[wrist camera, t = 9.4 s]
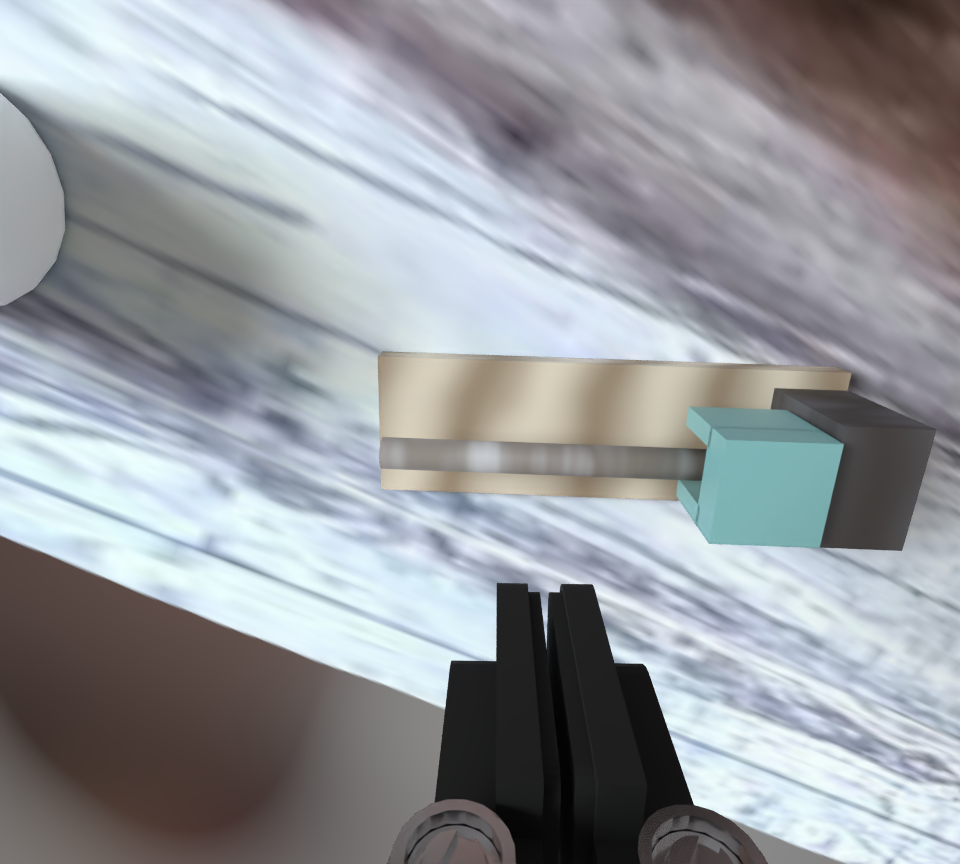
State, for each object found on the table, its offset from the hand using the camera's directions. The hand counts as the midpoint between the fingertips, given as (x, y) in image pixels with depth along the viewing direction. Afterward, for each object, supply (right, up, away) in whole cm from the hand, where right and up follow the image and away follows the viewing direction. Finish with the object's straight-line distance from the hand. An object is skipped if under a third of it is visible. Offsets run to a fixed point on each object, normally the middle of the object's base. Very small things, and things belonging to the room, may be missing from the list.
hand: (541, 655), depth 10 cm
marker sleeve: (+12, +3, +21) cm, 24 cm away
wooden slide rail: (+6, +4, +25) cm, 26 cm away
